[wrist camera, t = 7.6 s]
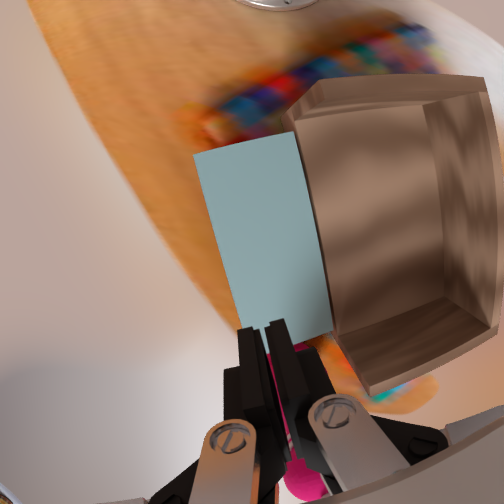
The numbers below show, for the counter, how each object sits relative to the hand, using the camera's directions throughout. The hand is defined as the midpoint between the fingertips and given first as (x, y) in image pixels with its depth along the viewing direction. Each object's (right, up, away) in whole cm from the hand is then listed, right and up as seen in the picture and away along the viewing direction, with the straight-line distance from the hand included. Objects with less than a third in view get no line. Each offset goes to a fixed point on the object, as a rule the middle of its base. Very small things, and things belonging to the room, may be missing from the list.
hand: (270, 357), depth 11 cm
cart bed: (+12, +8, +20) cm, 24 cm away
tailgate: (+5, +5, +15) cm, 16 cm away
